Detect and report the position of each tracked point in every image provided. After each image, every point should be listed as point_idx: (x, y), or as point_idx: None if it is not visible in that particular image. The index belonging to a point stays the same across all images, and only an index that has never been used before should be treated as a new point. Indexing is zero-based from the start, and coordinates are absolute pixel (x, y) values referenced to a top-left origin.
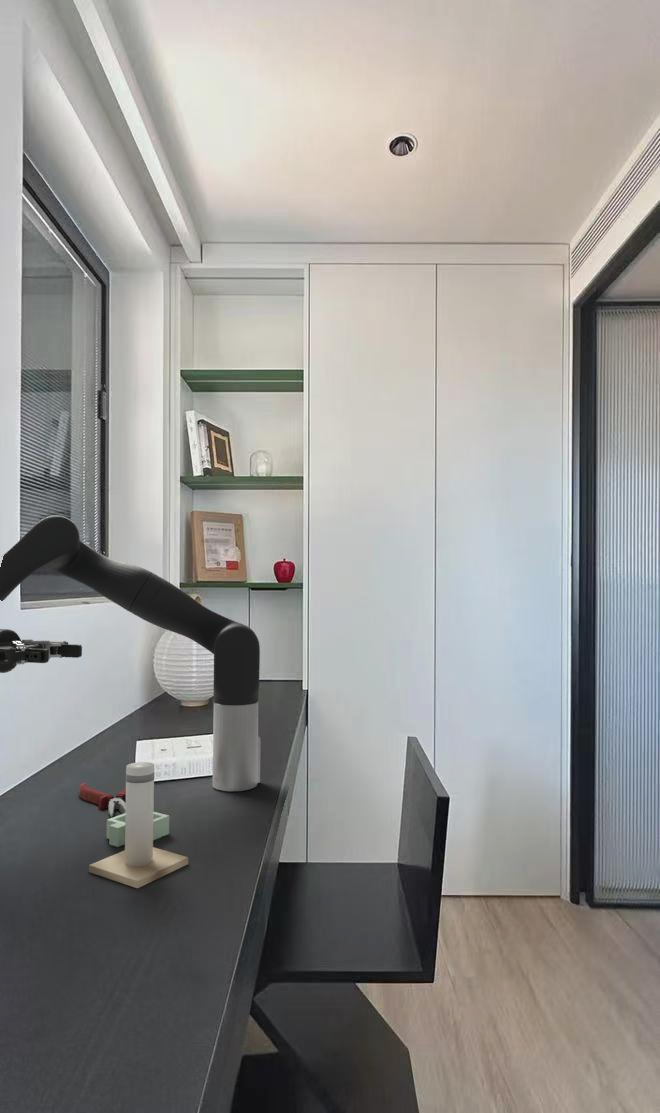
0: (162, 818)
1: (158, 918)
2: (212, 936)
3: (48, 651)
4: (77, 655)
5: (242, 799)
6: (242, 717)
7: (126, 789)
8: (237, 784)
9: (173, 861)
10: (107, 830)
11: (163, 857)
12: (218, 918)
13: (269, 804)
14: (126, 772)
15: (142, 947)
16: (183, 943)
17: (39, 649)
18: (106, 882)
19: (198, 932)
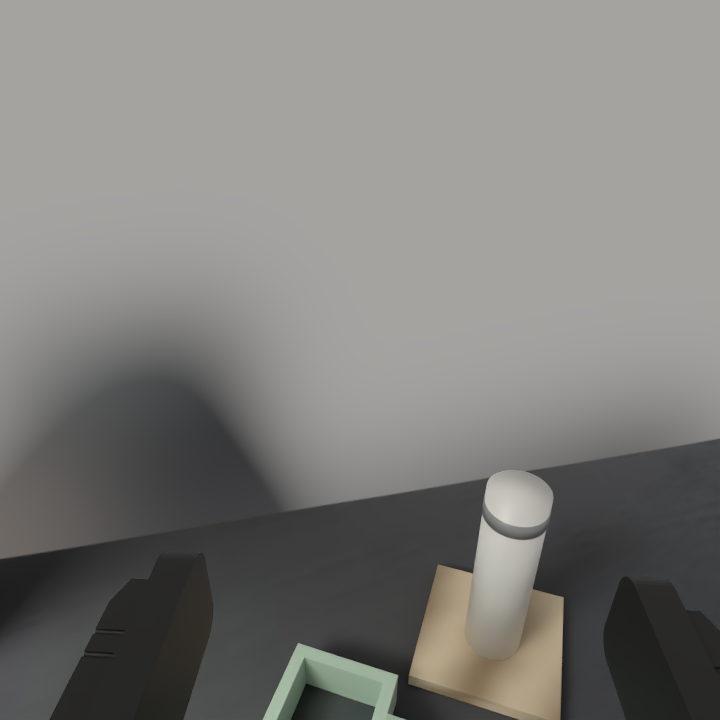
0: (318, 650)
1: (616, 540)
2: (608, 477)
3: (624, 578)
4: (208, 620)
5: (43, 605)
6: None
7: (540, 545)
8: None
9: (465, 578)
10: None
11: (456, 601)
12: (569, 484)
13: (93, 545)
14: (544, 519)
15: (684, 528)
16: (642, 496)
17: (694, 630)
18: (573, 669)
19: (611, 491)
